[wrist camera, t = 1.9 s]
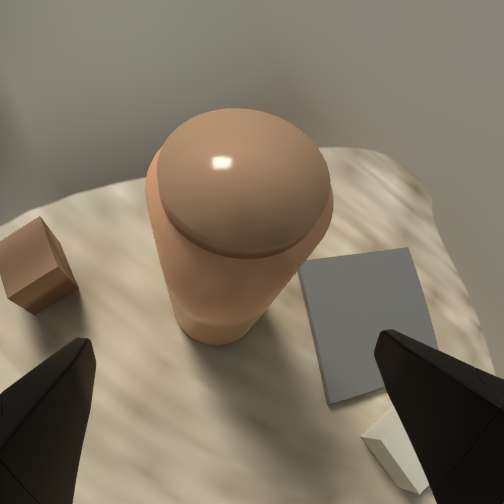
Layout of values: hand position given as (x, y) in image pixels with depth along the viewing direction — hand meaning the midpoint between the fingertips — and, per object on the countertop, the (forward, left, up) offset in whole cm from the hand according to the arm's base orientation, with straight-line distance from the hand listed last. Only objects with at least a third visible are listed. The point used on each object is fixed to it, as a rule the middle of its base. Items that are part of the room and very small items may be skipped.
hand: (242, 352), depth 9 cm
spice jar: (+4, -1, -11) cm, 12 cm away
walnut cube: (+7, +11, -11) cm, 18 cm away
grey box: (-9, -12, -11) cm, 18 cm away
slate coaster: (+1, -12, -11) cm, 16 cm away
